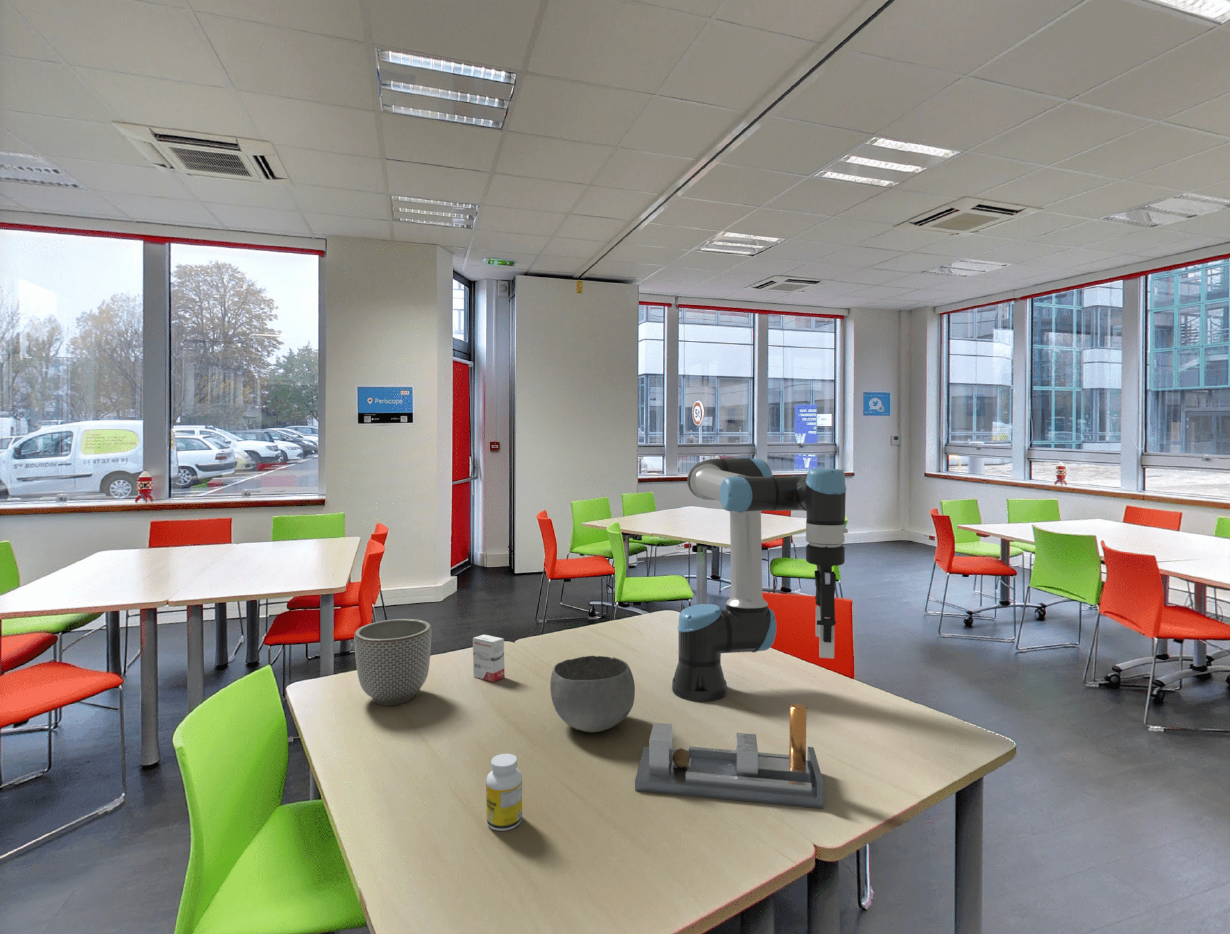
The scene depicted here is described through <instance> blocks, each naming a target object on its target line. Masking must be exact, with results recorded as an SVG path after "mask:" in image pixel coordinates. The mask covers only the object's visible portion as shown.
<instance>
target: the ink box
mask: <svg viewBox="0 0 1230 934" xmlns="http://www.w3.org/2000/svg"><path fill="white" fill-rule="evenodd" d="M472 657H473V658H472V663H473V664H472V665H473V678H477V679H481V680H485V681H489V682H492V683H495V682H497V681H499V680H502V679H503V678H505V638H502V637H497V636H493V635H488V634H481V635H478V636H474V637H473V638H472Z"/></svg>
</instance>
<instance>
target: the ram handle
mask: <svg viewBox="0 0 1230 934" xmlns="http://www.w3.org/2000/svg"><path fill="white" fill-rule="evenodd" d="M757 740H758V739H757V734H755V733H744V732H736V744H735V745H736V747H735V748H736V749H735V750H736V764H737V776H741V777H752V778H763V779H774V780H785V781H796V782H807V783H809V769H808V765H807V706H806V705H804V704H801V703H791V704H790V705H789V740H788V741H789V742H788V743H789V746H788V747H789V748H788V749H789V750H788V751H789V754H788V755H789V759H785V758H773V757H761V756H758V752H759V751H758V742H757Z"/></svg>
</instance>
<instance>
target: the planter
mask: <svg viewBox="0 0 1230 934" xmlns="http://www.w3.org/2000/svg"><path fill="white" fill-rule="evenodd" d="M353 636H354V637H353V641H354V642H353V644H354V653H355V654H354V655H355V664H356V665H355V666H356V672H357V678H358V682H359V685H360V687H361V689H362V691H363V692H364V693H365V694H366V695H367V696H369V697H370V698H372V700H373V701H374V702H375V704H377V705H380V706H398V705H402V704H405V703H408V702H409V701H411V700H412V699H413V698H414V697H415V695H416V693H417V692H418V691H419V690H420V689H421V688H422V687H423V685H424V684H425V682H426V680H427V678H428V675H429V670H430V661H431V648H432V645H431V644H432V626H431V624H430V623H429V622H428V621H425V620H422V619H414V618H396V619H395V618H394V619H386V620H385V619H384V620H380V621H376V622H370V623H368V624H365V625H363V626H360V627H358V628H357V630H355V632H354V635H353Z"/></svg>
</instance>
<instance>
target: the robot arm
mask: <svg viewBox="0 0 1230 934" xmlns="http://www.w3.org/2000/svg"><path fill="white" fill-rule="evenodd" d="M686 481H687V486H688V489H689V490H690V492H691V494H693V495H694V496H695V497H697V498H699V499H702V500H705V501H707V500H711V501H718V502H720V503H721V505H722V508H723V509H724V510H725V511H726V512H729V528H730V529H729V531H730V532H729V533H730V535H729V537H730V544H729V545H730V598H729V599H727V600H726V602H725V609H721V607H720V606H719V605H717V604H715V603H714V604H712V603H710V604H707V603H699V604H694V605H690V606H688V607H685V608H684V609H682V610H681V611H680V612H679V615H678V625H677V629H678V630H677V631H678V663H677V666H676V669H675V672H674V676H673V679H672V682H671V683H672V684H671V690H672V692H673V694H674V695H676V696H677V697H679V698H681V699H685V700H689V701H693V702H710V701H716V700H720V699H722V698H724V697H726V695H727V693H728V690H727V689H728V684H727V681H726V679H725V675H724V672H723V669H722V665H721V664H722V663H721V660H722V659H721V656H722V655H721V654H731V653H732V654H733V653H757V652H763V651H764V652H765V651H767V650H770V648H771V647H772V646H773V644H774V642H775V639H776V636H777V635H776V634H777V620H776V615H775V612H774V611H773V609H771V608H769V605H768V604H769V603H768V601H766V600H765V599H764V598H763V564H762V563H763V562H762V559H763V558H762V557H763V556H762V555H763V554H762V512H765V511H766V512H767V511H769V512H772V511H773V512H780V511H782V512H785V511H786V512H787V511H791V512H792V511H803V512H806V520H805V521H806V522H805V541H806V542H807V543H808V544H806V546H805V552H806V553H805V560H806V562H807V563H808V564H811V565H814V566H816V570H814V572H813V575H814V579H815V580H814V581H815V583H814V585H815V596H814V599H815V638H817V637H818V638H819V645H818V646H819V655H818V657H819V658H821V659H835V626H836V624H837V623H836V622H837V621H836V613H835V612H836V611H835V610H836V607H835V606H836V605H835V603H836V602H835V601H836V599H835V593H836V581H837V574H836V572H835V570H834V571H833V568H832V567H834V566H836V567H837V566H842V565H844V564H845V560H846V556H845V555H846V554H845V553H846V548H845V546H844V545H843V544H844V543H845V540H846V539H845V537H846V536H845V534H848V532H849V529H848V528H846V527H845V525H846V524H845V521H846V498H847V497H846V496H847V495H846V494H847V493H846V492H847V486H846V473H845V472H844V471H843V470H842V469H839V468H810V469H809V470H808V471H807V473H806V475H803V474H801V475H800V474H798V475H796V474H795V475H791V476H789V475H787V476H773V472H772V469H771V467H770V466H769V464H768V463H767V462H766V460H763V459H761V458H750V457H746V458H711V459H710V458H709V459H706V460H703V461H700V462H698V463H696V464H695V465H694V466H693V467H692V468H691V469H690V471H689V472H688V474H687V480H686Z"/></svg>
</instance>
